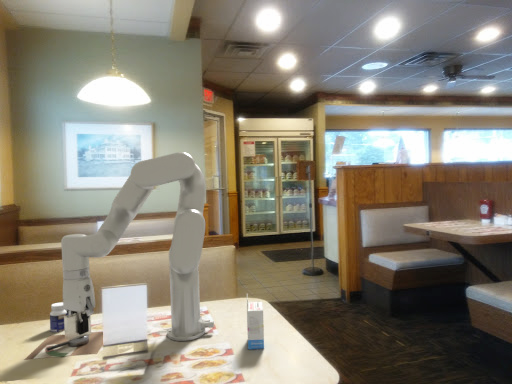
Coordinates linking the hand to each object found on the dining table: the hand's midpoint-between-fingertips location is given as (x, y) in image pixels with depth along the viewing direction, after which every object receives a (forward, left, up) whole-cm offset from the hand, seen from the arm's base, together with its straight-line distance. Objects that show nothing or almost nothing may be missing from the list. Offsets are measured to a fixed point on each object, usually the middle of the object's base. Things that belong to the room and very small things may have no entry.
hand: (79, 331), depth 115 cm
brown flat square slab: (+2, 0, -5) cm, 5 cm away
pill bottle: (+11, -14, -5) cm, 19 cm away
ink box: (-55, +8, -5) cm, 56 cm away
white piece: (+2, +2, -3) cm, 5 cm away
